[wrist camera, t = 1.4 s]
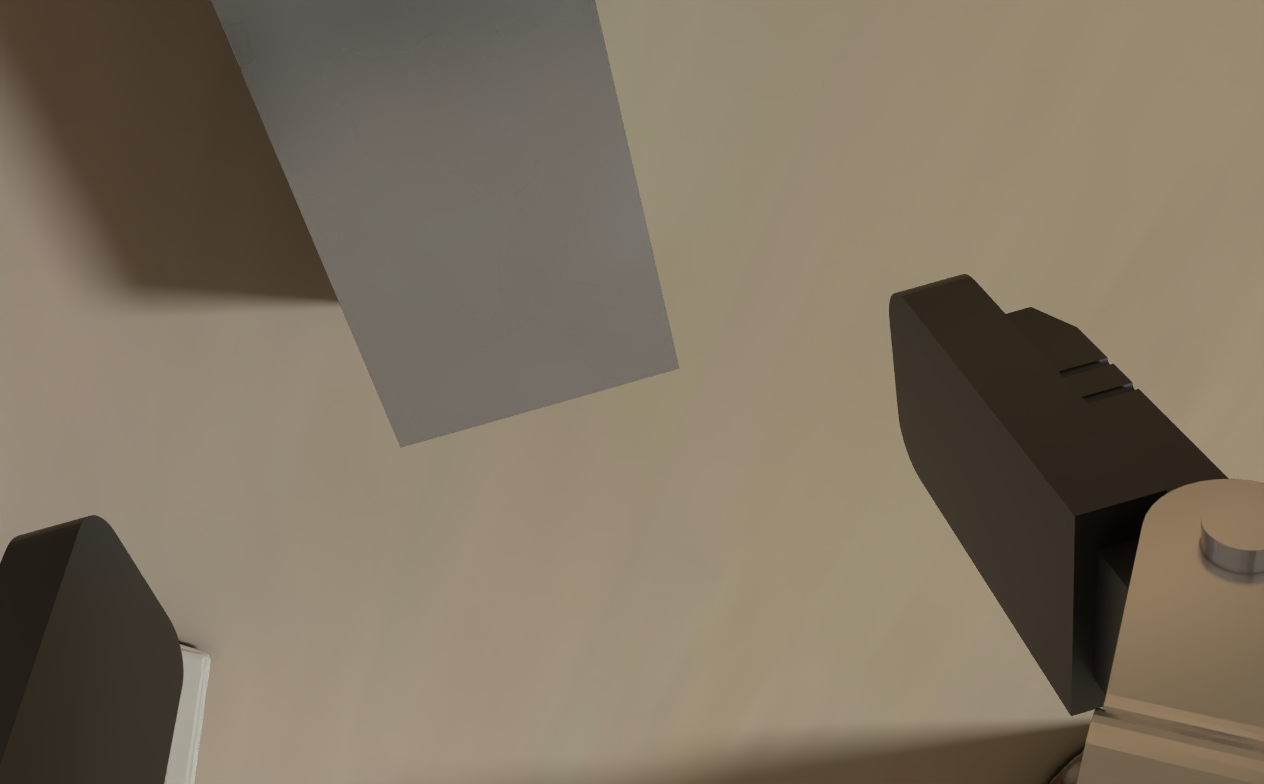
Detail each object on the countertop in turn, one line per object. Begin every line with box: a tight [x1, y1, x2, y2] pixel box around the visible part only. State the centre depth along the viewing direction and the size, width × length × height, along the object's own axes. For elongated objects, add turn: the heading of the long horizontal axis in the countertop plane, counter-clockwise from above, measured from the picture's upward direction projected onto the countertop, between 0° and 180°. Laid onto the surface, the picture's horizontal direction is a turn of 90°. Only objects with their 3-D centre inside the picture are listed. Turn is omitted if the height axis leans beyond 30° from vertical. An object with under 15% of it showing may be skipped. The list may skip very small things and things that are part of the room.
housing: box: [211, 0, 679, 447], centre depth 19 cm, size 8×5×5 cm, turn 12°
